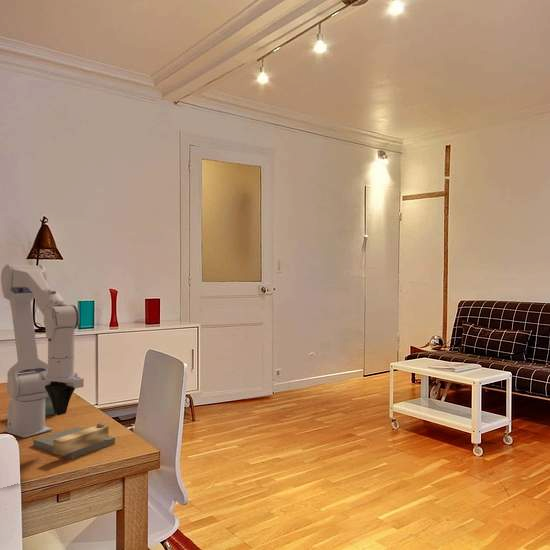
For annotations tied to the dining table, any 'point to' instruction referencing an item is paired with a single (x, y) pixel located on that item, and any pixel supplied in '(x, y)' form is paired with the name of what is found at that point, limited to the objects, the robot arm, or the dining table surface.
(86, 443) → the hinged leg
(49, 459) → the dining table surface
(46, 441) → the grey rectangular frame
